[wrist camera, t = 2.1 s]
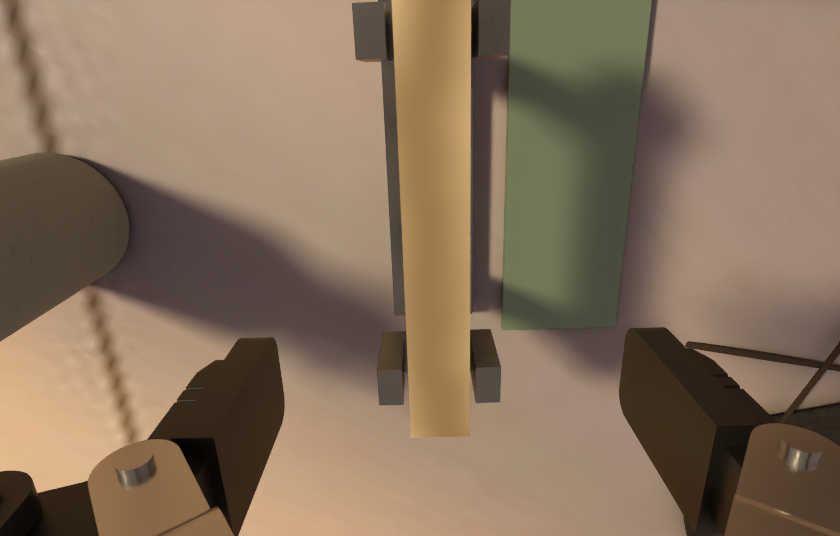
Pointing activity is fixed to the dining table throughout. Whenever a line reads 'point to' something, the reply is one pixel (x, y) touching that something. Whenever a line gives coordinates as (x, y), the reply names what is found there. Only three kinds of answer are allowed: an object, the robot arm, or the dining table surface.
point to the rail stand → (378, 47)
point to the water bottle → (54, 233)
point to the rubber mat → (570, 158)
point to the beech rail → (435, 207)
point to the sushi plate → (825, 421)
